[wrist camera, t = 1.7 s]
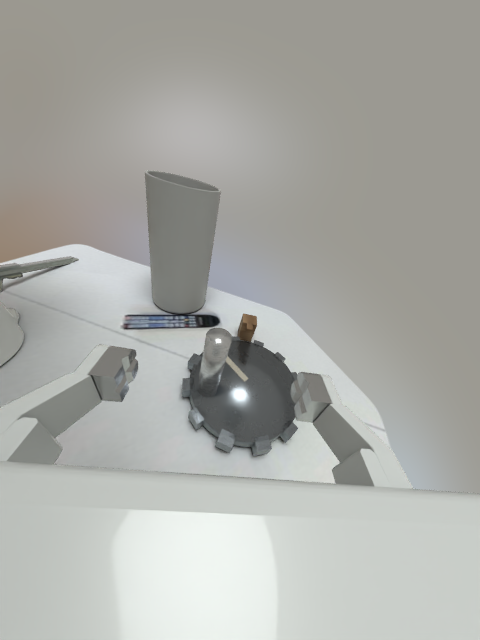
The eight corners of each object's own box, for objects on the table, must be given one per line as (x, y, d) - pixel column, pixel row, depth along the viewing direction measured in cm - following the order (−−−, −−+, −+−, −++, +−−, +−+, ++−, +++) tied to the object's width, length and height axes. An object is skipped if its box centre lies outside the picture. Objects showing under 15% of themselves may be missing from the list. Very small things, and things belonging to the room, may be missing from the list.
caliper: (-12, 299, 36) (-34, 268, 32) (-18, 297, 36) (-40, 266, 32) (79, 260, 52) (72, 237, 48) (75, 259, 52) (68, 235, 48)
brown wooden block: (236, 344, 41) (242, 327, 38) (238, 330, 45) (243, 313, 42) (250, 347, 42) (257, 330, 39) (250, 332, 45) (256, 316, 42)
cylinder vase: (168, 281, 54) (169, 171, 38) (211, 295, 53) (228, 190, 38) (141, 304, 44) (126, 169, 29) (193, 321, 44) (206, 193, 28)
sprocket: (163, 444, 24) (161, 389, 16) (197, 335, 39) (205, 279, 32) (312, 463, 26) (374, 423, 18) (289, 353, 42) (317, 305, 34)
